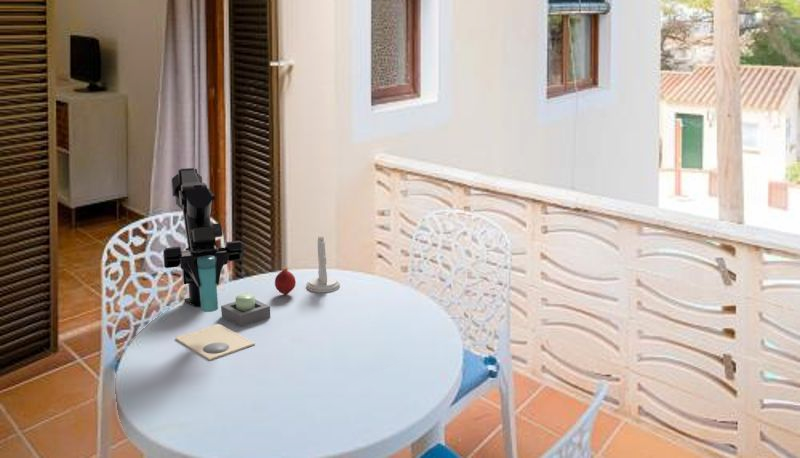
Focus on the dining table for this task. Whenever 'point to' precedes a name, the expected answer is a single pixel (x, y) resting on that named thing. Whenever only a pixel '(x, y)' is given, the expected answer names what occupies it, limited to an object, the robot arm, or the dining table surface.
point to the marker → (207, 283)
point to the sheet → (214, 341)
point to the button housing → (245, 313)
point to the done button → (245, 302)
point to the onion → (285, 282)
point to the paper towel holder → (322, 273)
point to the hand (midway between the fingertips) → (208, 285)
